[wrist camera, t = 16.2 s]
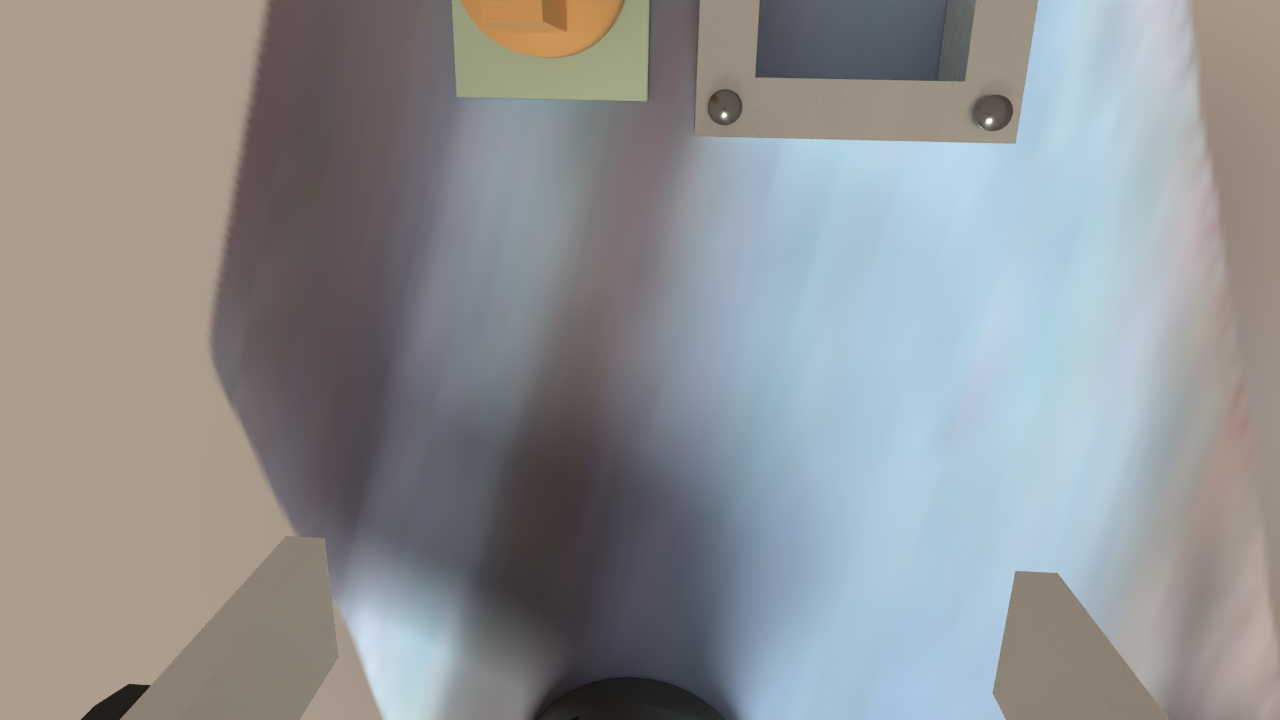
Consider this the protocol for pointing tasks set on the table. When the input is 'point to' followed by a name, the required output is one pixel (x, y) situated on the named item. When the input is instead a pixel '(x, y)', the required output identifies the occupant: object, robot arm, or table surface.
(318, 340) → the table surface
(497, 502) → the table surface
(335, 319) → the table surface
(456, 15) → the mat
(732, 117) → the housing
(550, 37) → the orange stamp
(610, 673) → the table surface
